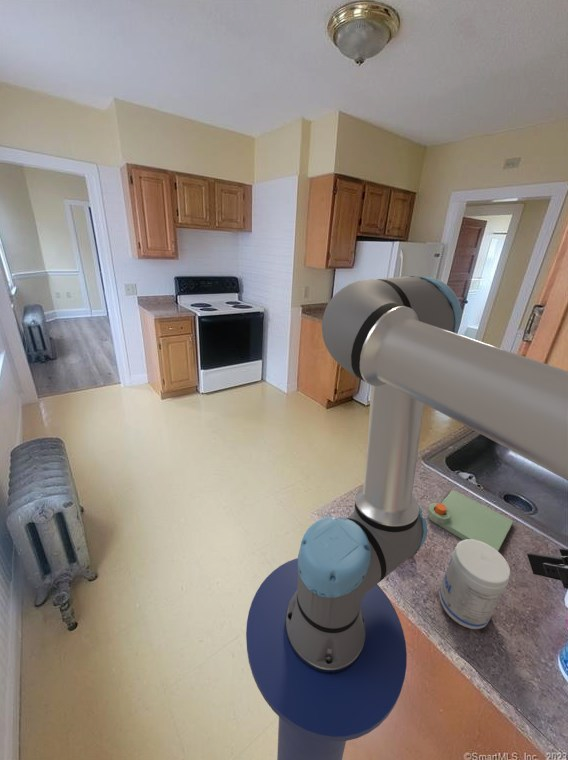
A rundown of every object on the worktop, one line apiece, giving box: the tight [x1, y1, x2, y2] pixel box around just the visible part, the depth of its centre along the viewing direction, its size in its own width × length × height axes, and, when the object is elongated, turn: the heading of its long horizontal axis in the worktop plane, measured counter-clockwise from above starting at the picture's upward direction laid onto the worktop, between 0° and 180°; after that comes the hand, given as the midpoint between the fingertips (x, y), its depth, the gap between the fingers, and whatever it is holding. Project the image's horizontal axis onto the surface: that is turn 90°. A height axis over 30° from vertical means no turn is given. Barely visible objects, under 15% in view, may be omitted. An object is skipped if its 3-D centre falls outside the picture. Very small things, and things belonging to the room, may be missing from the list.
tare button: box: [435, 502, 447, 515], centre depth 87 cm, size 3×3×2 cm
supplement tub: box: [438, 539, 511, 630], centre depth 65 cm, size 10×10×15 cm
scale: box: [427, 489, 514, 552], centre depth 87 cm, size 17×16×4 cm
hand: (548, 561), depth 49 cm, fingers open, 5 cm apart
